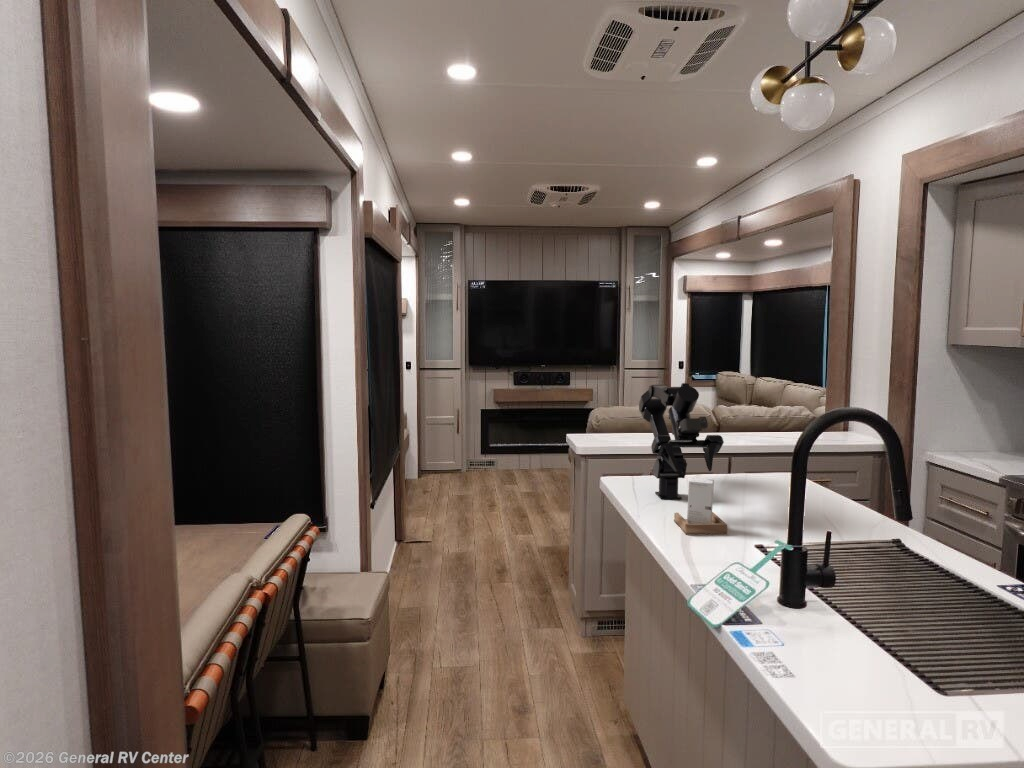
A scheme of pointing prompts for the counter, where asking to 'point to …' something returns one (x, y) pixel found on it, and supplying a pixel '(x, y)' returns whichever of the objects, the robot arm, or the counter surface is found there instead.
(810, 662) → the counter surface
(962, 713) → the counter surface
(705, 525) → the tray
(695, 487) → the skincare box
